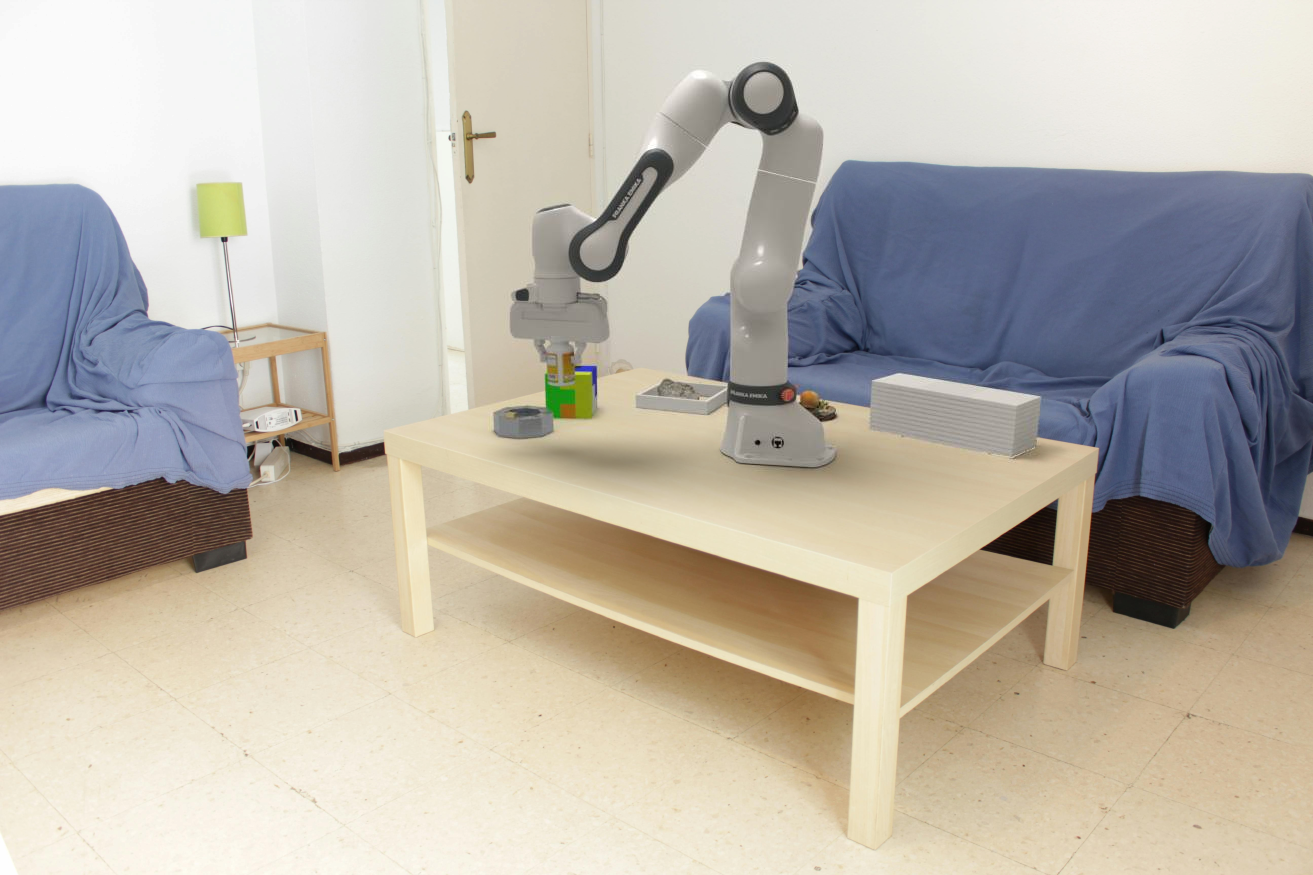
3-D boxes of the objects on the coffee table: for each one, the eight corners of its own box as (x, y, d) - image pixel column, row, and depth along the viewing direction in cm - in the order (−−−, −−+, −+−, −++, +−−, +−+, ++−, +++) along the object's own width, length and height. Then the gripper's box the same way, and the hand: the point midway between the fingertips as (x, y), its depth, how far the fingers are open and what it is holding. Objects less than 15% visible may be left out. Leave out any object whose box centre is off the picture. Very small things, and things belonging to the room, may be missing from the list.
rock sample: (657, 395, 227) (669, 364, 232) (646, 411, 234) (658, 380, 238) (699, 415, 228) (710, 384, 233) (688, 430, 235) (699, 399, 240)
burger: (842, 413, 228) (844, 381, 226) (827, 425, 218) (828, 391, 216) (792, 408, 233) (793, 376, 231) (774, 419, 223) (775, 386, 221)
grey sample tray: (732, 398, 242) (733, 386, 241) (706, 414, 226) (707, 401, 225) (665, 391, 248) (665, 379, 247) (635, 407, 233) (635, 394, 232)
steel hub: (561, 427, 216) (560, 404, 214) (533, 440, 205) (533, 416, 204) (514, 421, 220) (513, 399, 219) (485, 434, 210) (484, 411, 209)
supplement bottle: (576, 380, 199) (574, 331, 196) (574, 386, 193) (572, 336, 191) (548, 380, 198) (546, 332, 196) (546, 386, 193) (544, 336, 191)
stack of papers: (1035, 449, 200) (1041, 396, 197) (1011, 460, 193) (1016, 405, 190) (895, 420, 222) (898, 372, 219) (869, 429, 215) (871, 380, 212)
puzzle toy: (597, 408, 232) (596, 366, 230) (590, 419, 223) (589, 375, 220) (554, 407, 233) (553, 365, 231) (546, 418, 224) (544, 374, 221)
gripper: (614, 291, 190) (616, 363, 194) (520, 288, 198) (524, 357, 202) (599, 295, 184) (601, 369, 188) (503, 292, 192) (507, 363, 196)
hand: (560, 363), depth 195 cm, fingers closed on supplement bottle, 5 cm apart
